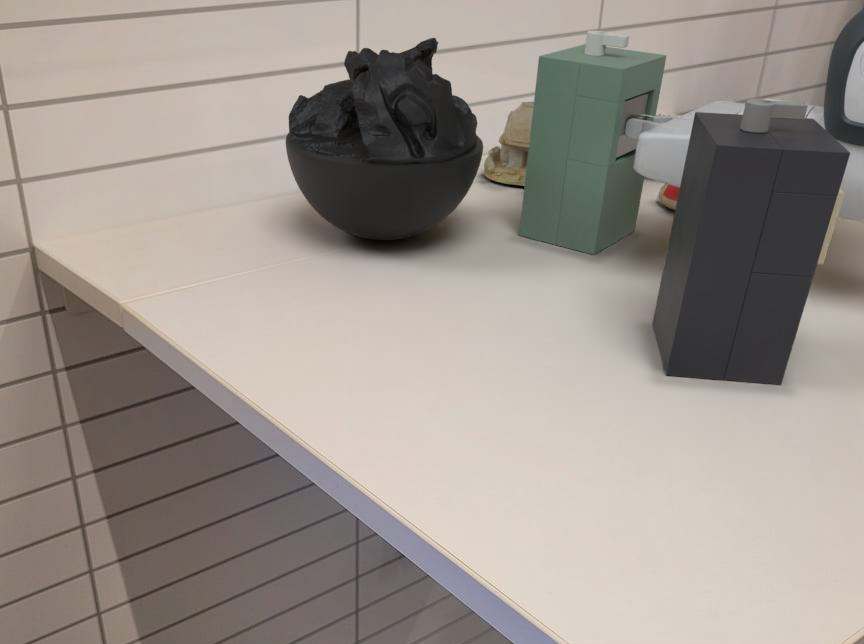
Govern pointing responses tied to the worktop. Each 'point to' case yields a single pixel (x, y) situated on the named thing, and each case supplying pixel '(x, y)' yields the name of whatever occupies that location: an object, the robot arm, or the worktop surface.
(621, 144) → the plate
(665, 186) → the red and beige wedge
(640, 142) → the robot arm
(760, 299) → the lotion dispenser
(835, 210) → the lotion plate
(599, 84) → the soap dispenser
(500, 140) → the ceramic model
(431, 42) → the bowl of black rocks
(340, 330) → the worktop surface
